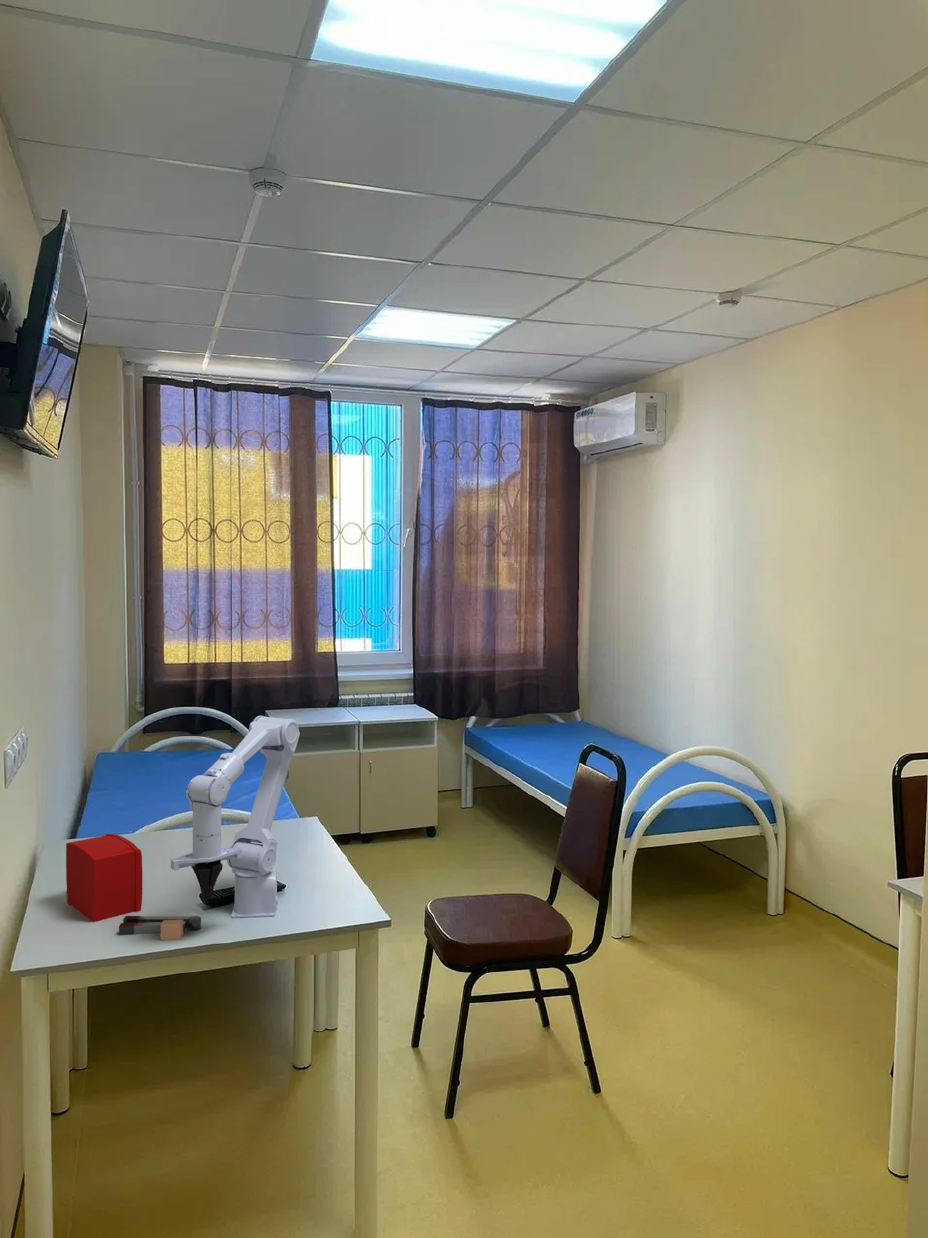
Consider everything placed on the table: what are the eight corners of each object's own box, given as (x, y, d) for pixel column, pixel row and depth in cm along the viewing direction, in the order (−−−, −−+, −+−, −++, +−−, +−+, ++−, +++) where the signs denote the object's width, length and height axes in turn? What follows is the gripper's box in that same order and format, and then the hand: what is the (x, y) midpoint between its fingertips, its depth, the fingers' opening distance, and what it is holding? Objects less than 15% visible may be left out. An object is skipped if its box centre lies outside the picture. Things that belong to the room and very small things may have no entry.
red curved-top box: (143, 911, 199) (142, 845, 198) (94, 924, 192) (94, 856, 191) (112, 891, 211) (112, 829, 210) (66, 903, 203) (65, 838, 202)
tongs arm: (202, 925, 191) (202, 915, 191) (199, 931, 188) (199, 920, 188) (125, 925, 190) (125, 915, 190) (121, 931, 187) (121, 921, 187)
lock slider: (183, 933, 187) (183, 919, 187) (180, 939, 184) (180, 925, 184) (163, 934, 186) (163, 920, 186) (160, 940, 183) (160, 926, 183)
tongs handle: (185, 930, 189) (185, 920, 189) (184, 933, 187) (184, 923, 187) (120, 932, 187) (120, 923, 187) (119, 936, 185) (119, 926, 185)
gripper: (232, 823, 193) (232, 884, 193) (165, 834, 184) (165, 898, 185) (245, 831, 187) (245, 894, 188) (177, 842, 178) (177, 909, 179)
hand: (206, 897), depth 186 cm, fingers closed
